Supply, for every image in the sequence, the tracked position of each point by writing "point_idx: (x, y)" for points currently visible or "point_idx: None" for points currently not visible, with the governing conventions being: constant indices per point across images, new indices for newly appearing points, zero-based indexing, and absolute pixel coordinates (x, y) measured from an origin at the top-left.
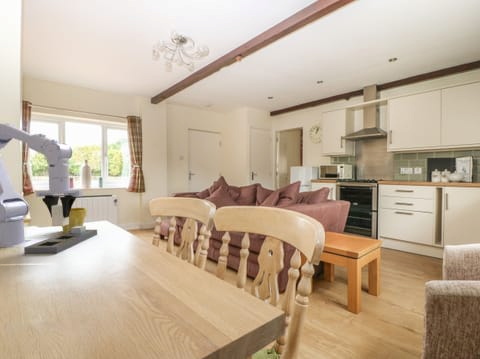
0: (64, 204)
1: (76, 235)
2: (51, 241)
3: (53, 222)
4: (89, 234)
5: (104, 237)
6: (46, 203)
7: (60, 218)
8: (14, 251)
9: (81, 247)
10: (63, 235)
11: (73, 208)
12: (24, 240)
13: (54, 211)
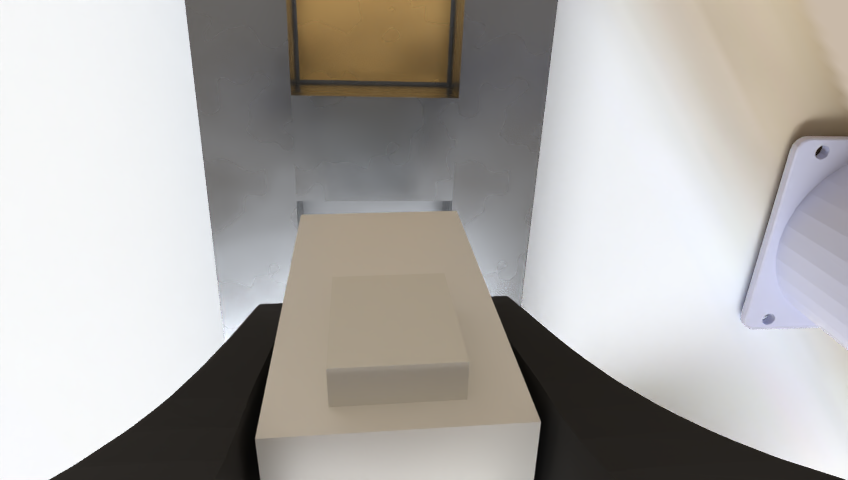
0: (145, 450)
1: None
2: (419, 109)
3: (445, 237)
4: None
5: None
6: (687, 442)
7: (326, 268)
8: (726, 25)
9: (127, 129)
10: None
11: None
12: (795, 317)
13: (421, 306)
